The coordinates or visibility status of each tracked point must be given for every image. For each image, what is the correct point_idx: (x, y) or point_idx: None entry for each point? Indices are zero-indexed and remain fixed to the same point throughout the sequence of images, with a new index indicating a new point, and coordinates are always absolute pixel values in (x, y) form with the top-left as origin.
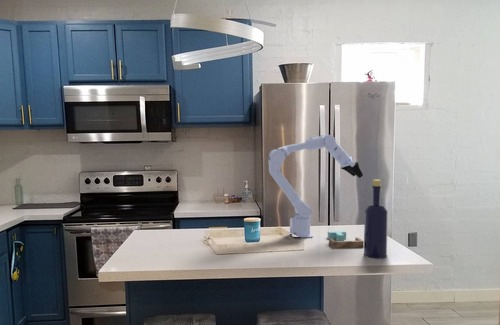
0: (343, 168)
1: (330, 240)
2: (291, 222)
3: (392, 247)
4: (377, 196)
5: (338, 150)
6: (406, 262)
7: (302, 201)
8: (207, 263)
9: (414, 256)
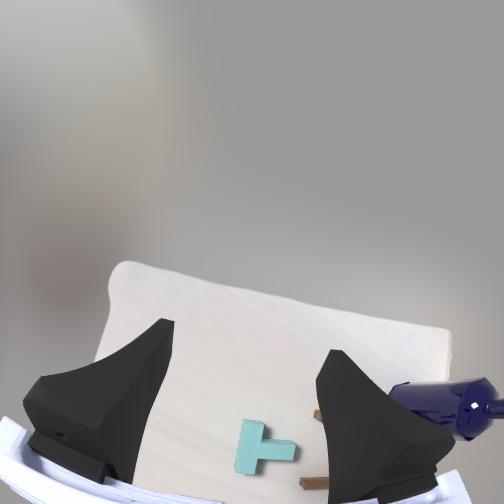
0: (130, 484)
1: (317, 488)
2: None
3: (367, 339)
4: None
5: None
6: (442, 364)
7: None
8: None
9: (421, 329)
